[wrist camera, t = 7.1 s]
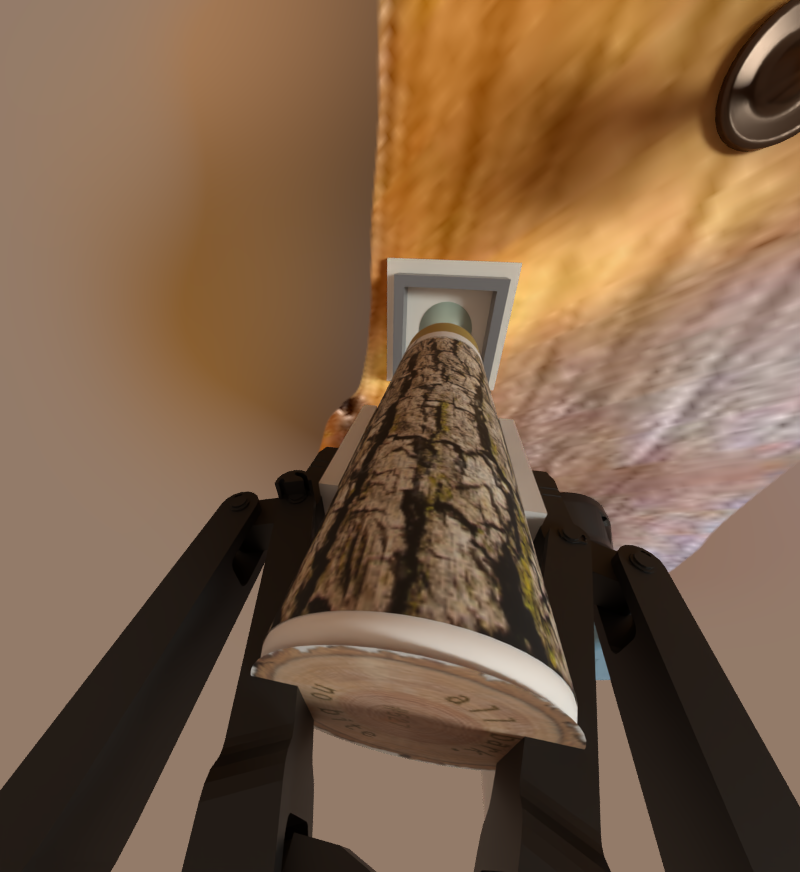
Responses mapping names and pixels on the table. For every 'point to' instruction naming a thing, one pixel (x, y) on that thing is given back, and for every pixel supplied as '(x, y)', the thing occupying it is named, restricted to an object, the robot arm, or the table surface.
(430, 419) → the paper tube
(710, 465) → the table surface
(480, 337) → the collar stand
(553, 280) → the table surface
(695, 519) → the table surface
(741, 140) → the candlestick
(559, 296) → the table surface
